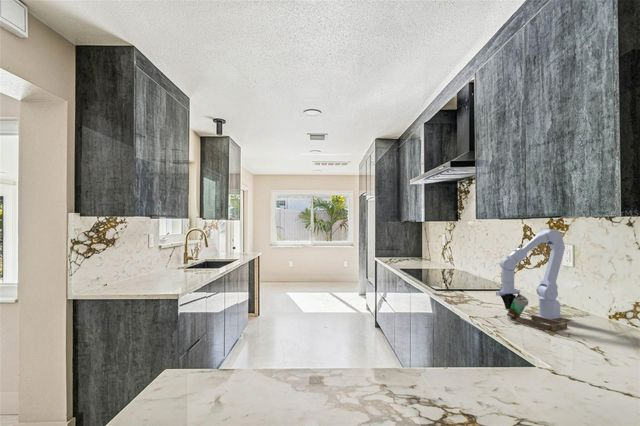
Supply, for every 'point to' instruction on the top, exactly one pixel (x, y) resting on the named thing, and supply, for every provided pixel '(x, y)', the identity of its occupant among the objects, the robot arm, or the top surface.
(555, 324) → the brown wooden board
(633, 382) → the top surface
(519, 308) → the food container
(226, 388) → the top surface
